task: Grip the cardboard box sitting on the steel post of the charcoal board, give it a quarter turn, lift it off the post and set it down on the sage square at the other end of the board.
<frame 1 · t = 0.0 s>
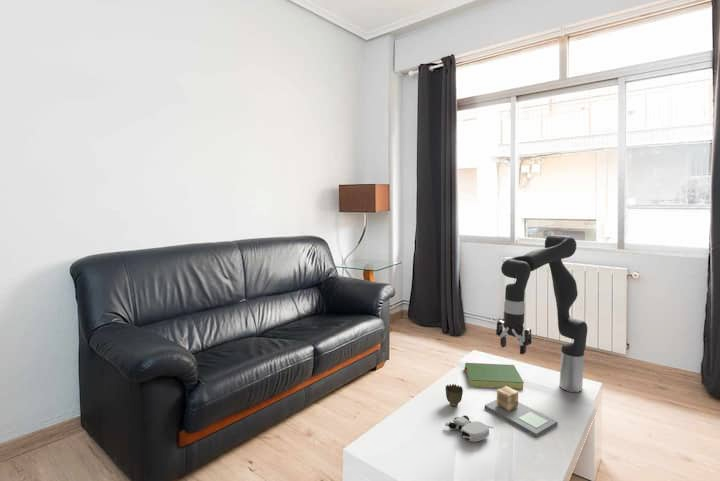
hand: (512, 350, 155), 29 cm above the table, tool pointing down, fingers open, 8 cm apart
post board: (519, 416, 161), on the table
robot toy: (468, 434, 150), on the table
cardboard box: (507, 405, 166), point 2 cm above the table, touching post board
hardcover book: (491, 379, 194), on the table
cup: (453, 405, 170), on the table
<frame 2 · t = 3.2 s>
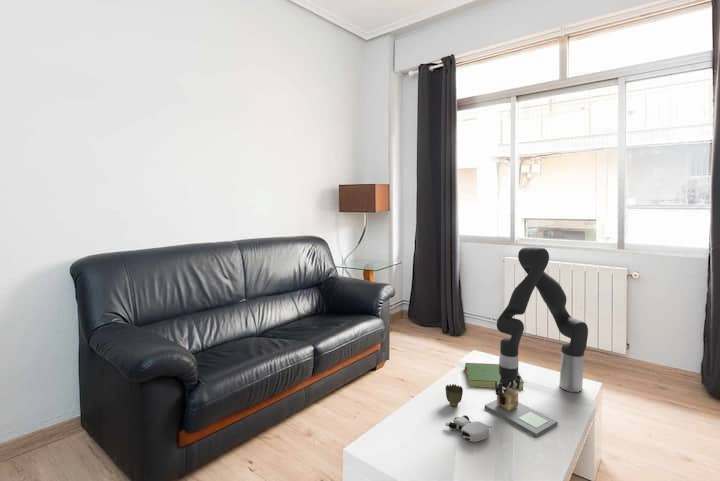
hand: (507, 401, 165), 4 cm above the table, tool pointing down, fingers closed on cardboard box, 6 cm apart
cardboard box: (507, 405, 166), point 2 cm above the table, touching gripper, post board
everything else where it was.
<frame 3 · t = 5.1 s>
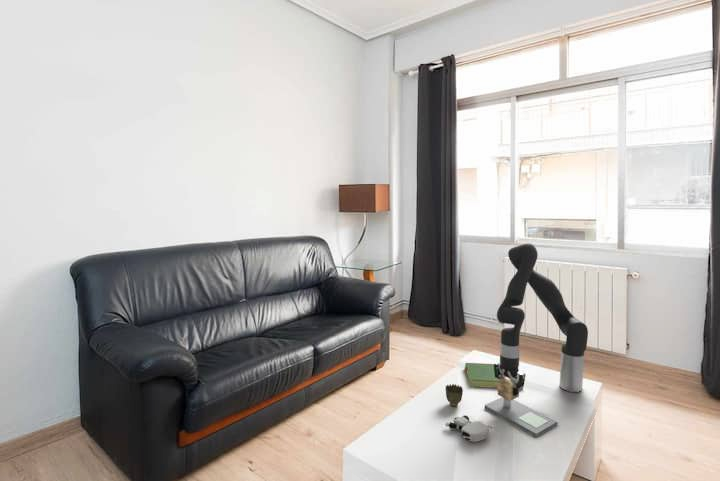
hand: (508, 391, 165), 8 cm above the table, tool pointing down, fingers closed on cardboard box, 6 cm apart
cardboard box: (508, 395, 165), point 6 cm above the table, touching gripper
everything else where it was.
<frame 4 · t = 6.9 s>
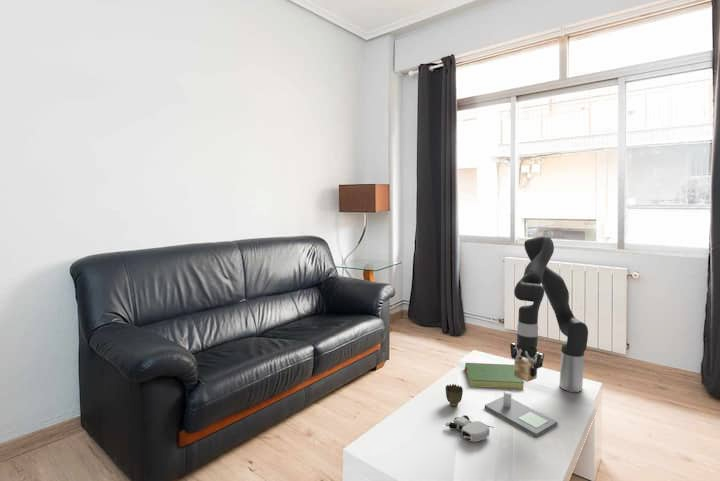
hand: (525, 373, 157), 20 cm above the table, tool pointing down, fingers closed on cardboard box, 6 cm apart
cardboard box: (525, 376, 157), point 18 cm above the table, touching gripper
everything else where it was.
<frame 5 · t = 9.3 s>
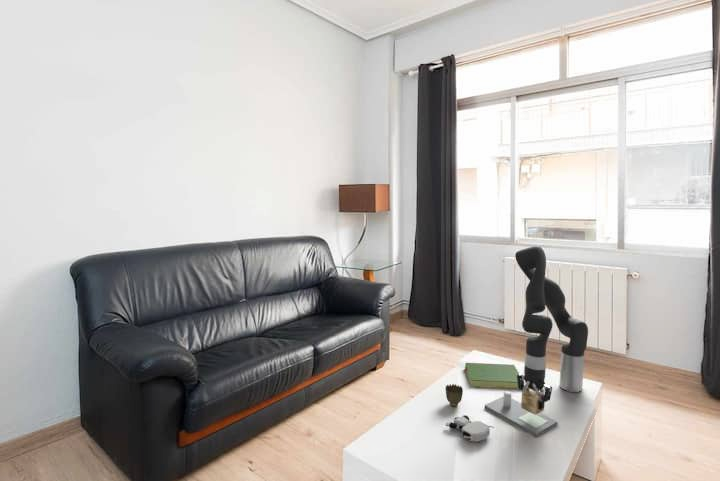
hand: (532, 405, 155), 8 cm above the table, tool pointing down, fingers closed on cardboard box, 6 cm apart
cardboard box: (532, 409, 155), point 6 cm above the table, touching gripper
everything else where it was.
when the fingers open (4 cm above the table, at t = 11.0 s): cardboard box stays where it is, resting on post board.
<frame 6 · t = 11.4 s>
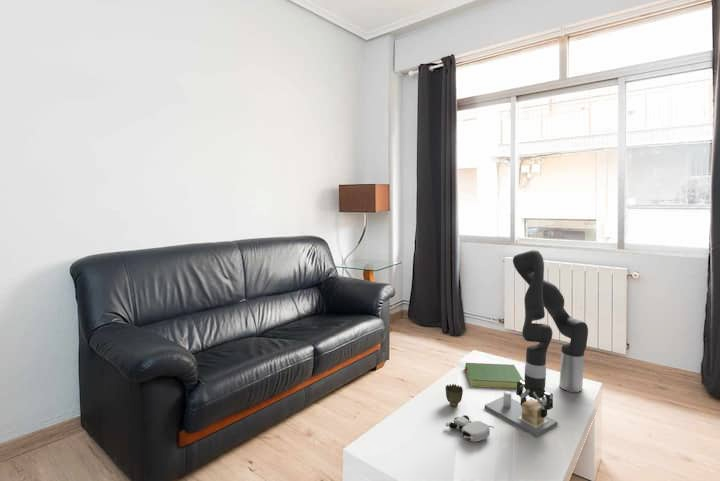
hand: (533, 412, 155), 5 cm above the table, tool pointing down, fingers open, 8 cm apart
cardboard box: (532, 419, 156), point 2 cm above the table, touching post board
everything else where it was.
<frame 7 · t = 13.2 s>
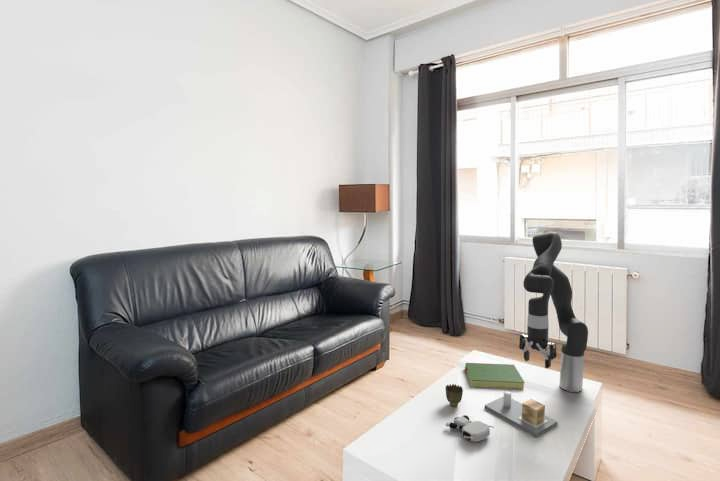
hand: (537, 364, 156), 23 cm above the table, tool pointing down, fingers open, 8 cm apart
nothing on the table moved.
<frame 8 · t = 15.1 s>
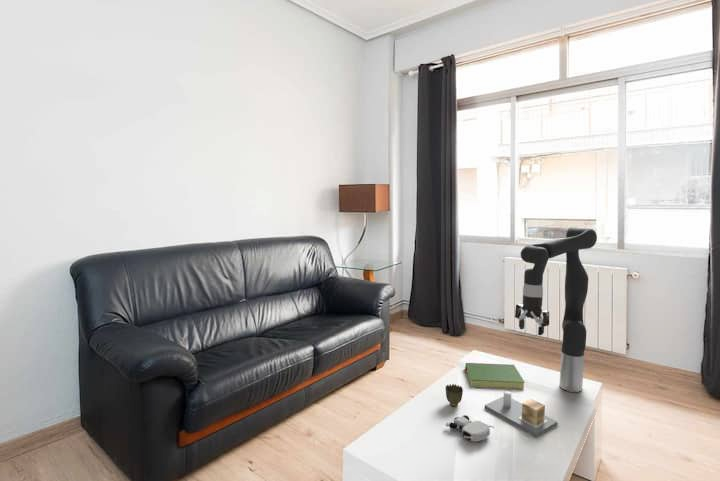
hand: (531, 331, 165), 33 cm above the table, tool pointing down, fingers open, 8 cm apart
nothing on the table moved.
at the end: cardboard box 0.1 cm from the target spot on the post board, point 1.7 cm above the post board's base; cardboard box tilted 0°; the gripper is holding nothing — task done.
